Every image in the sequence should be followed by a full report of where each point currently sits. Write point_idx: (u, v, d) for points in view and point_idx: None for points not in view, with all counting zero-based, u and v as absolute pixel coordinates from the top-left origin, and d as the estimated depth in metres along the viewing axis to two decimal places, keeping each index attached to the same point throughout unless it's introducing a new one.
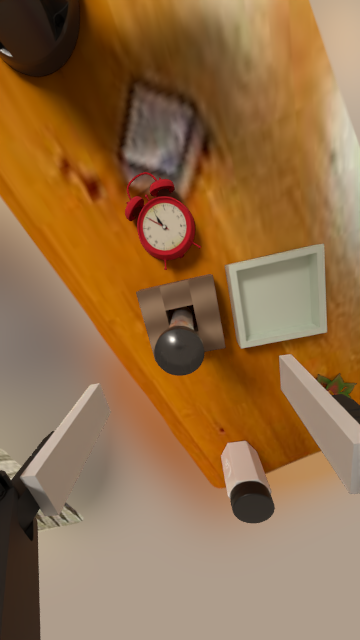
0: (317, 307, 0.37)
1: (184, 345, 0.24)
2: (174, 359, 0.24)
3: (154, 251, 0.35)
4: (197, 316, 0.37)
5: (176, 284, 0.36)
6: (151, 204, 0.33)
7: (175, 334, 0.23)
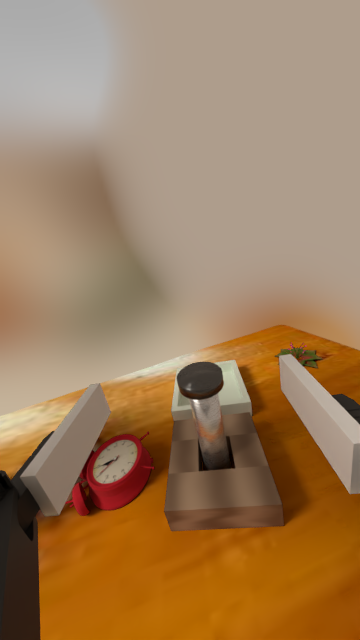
0: None
1: (192, 371, 0.27)
2: (204, 376, 0.25)
3: (130, 472, 0.31)
4: None
5: (171, 453, 0.32)
6: (90, 468, 0.33)
7: (180, 376, 0.27)
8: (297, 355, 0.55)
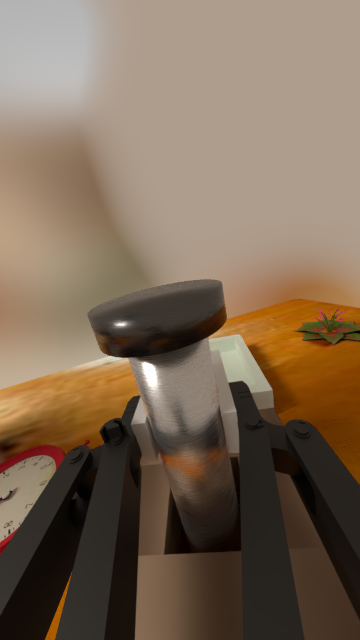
0: (213, 343, 0.37)
1: (142, 294, 0.10)
2: (169, 295, 0.08)
3: None
4: None
5: None
6: None
7: (107, 304, 0.10)
8: (329, 327, 0.38)
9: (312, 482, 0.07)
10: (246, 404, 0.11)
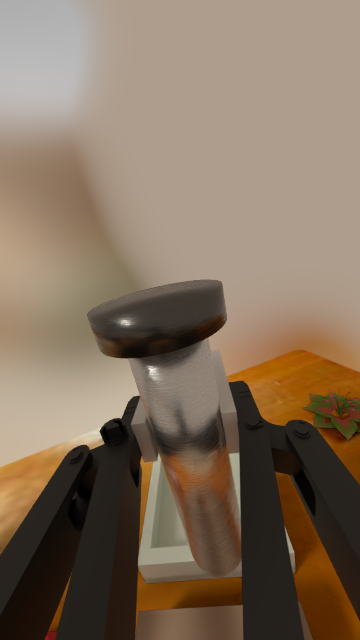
0: None
1: (142, 295, 0.10)
2: (169, 295, 0.08)
3: None
4: None
5: None
6: None
7: (107, 304, 0.10)
8: (340, 410, 0.36)
9: (312, 482, 0.07)
10: (246, 404, 0.11)
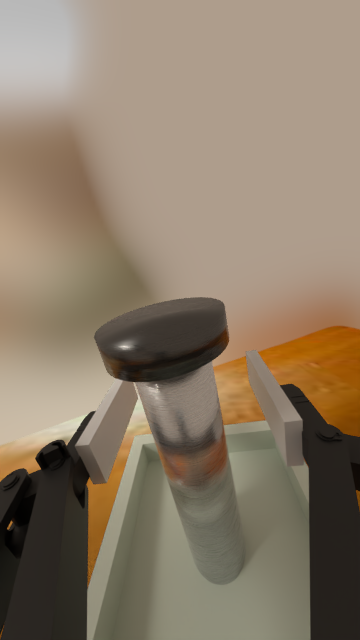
0: (235, 437, 0.20)
1: (146, 313, 0.10)
2: (173, 317, 0.09)
3: None
4: None
5: None
6: None
7: (112, 323, 0.10)
8: None
9: None
10: (305, 411, 0.10)
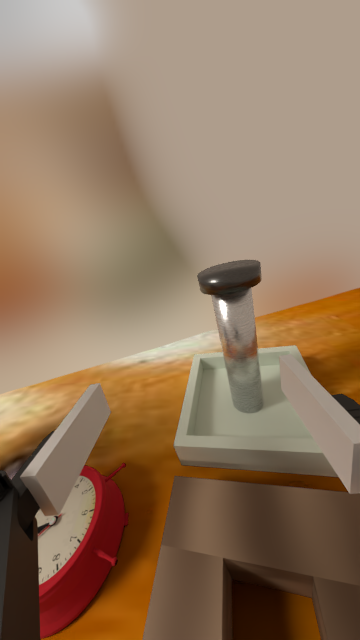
0: (262, 355, 0.31)
1: (218, 268, 0.21)
2: (235, 269, 0.19)
3: (64, 572, 0.15)
4: (260, 557, 0.13)
5: (154, 593, 0.13)
6: None
7: (203, 273, 0.20)
8: None
9: None
10: None
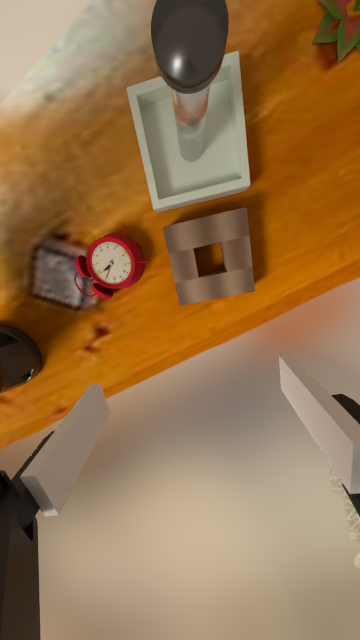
0: None
1: (176, 17, 0.15)
2: (200, 39, 0.16)
3: (132, 272, 0.37)
4: (206, 243, 0.34)
5: (172, 265, 0.36)
6: (95, 275, 0.38)
7: (159, 38, 0.16)
8: None
9: None
10: None
